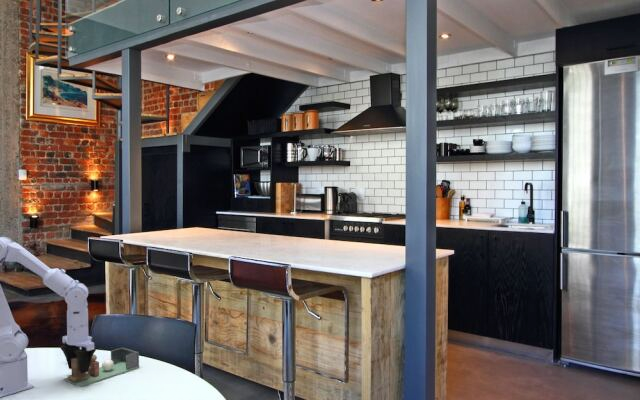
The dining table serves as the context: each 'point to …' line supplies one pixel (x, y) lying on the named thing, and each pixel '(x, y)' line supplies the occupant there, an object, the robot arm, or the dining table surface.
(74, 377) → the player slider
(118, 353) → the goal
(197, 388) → the dining table surface
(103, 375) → the pitch mat
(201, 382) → the dining table surface
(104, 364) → the ball
